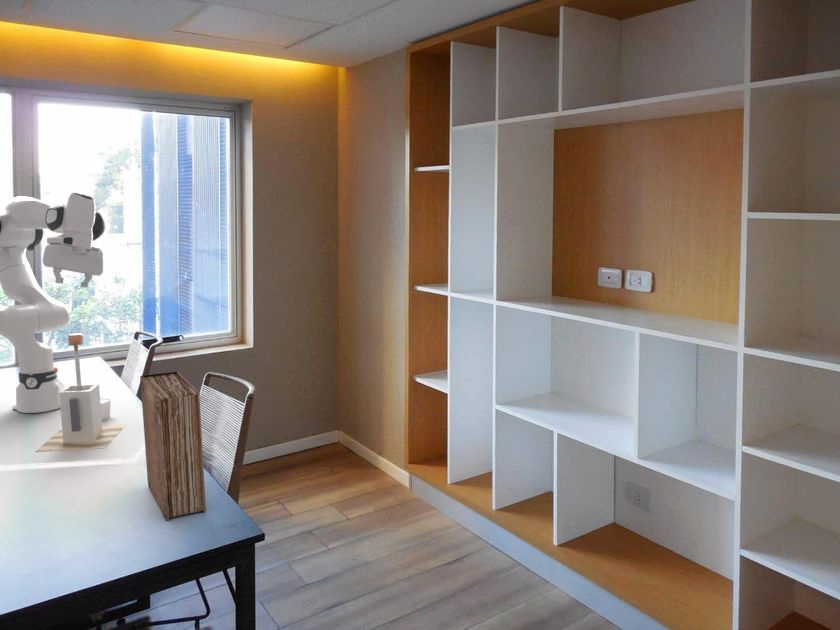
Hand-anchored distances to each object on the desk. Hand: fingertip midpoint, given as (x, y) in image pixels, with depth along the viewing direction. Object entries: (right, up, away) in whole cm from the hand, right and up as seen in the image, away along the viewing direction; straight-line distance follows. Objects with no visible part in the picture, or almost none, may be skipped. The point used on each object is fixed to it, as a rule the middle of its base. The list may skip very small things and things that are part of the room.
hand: (71, 285), depth 226 cm
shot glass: (+1, -46, +18) cm, 50 cm away
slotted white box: (+6, -48, -5) cm, 49 cm away
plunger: (+5, -39, -5) cm, 40 cm away
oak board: (+5, -49, -4) cm, 50 cm away
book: (+50, -56, -48) cm, 90 cm away
